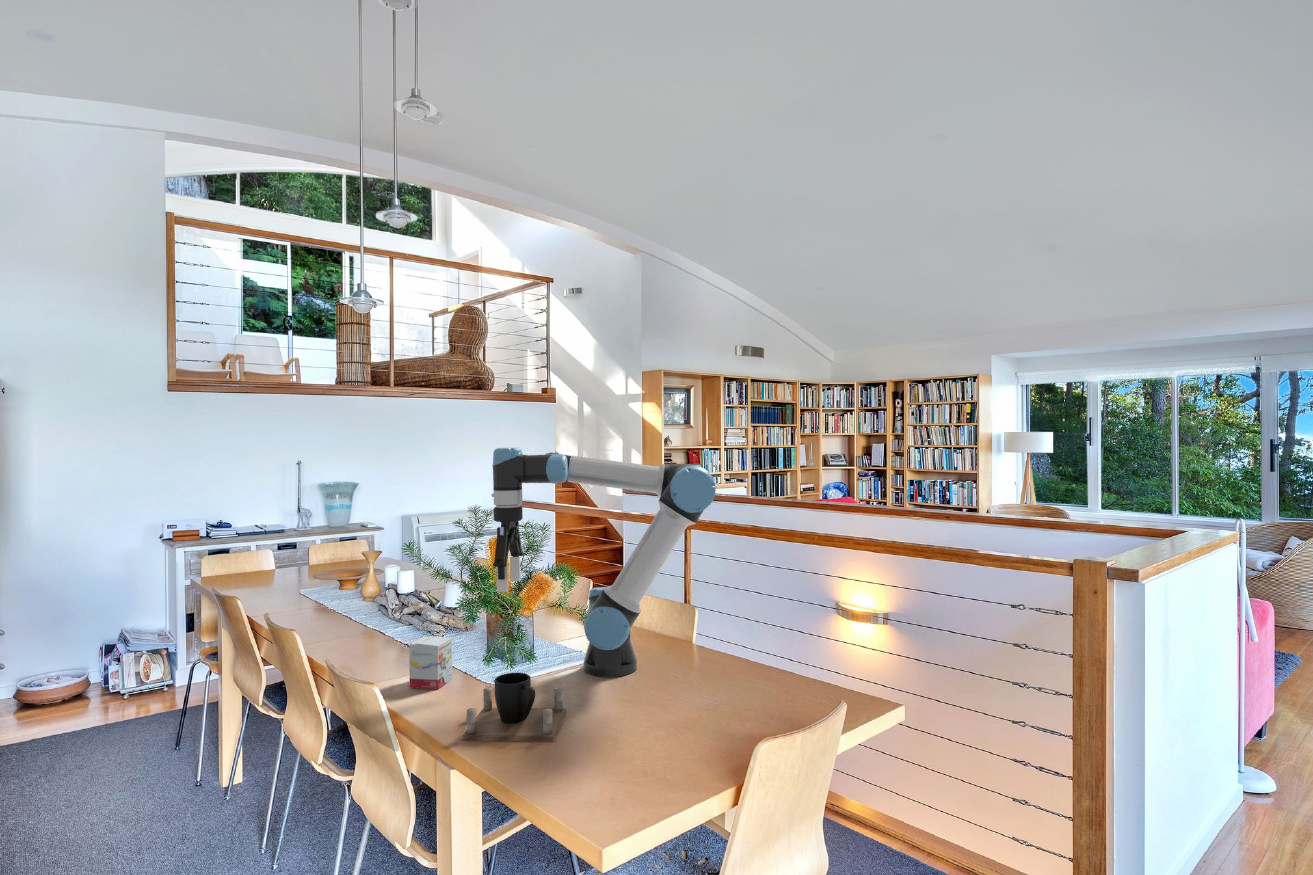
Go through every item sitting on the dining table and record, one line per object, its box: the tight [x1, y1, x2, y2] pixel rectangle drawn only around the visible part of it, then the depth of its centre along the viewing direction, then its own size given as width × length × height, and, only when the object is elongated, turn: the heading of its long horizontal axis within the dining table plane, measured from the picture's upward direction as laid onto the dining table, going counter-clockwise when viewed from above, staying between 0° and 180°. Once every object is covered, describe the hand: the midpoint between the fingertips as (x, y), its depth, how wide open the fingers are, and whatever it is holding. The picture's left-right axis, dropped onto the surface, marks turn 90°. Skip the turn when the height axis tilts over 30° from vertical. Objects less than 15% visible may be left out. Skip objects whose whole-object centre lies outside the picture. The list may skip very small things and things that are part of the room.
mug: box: [493, 672, 536, 724], centre depth 169 cm, size 8×12×10 cm
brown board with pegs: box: [462, 687, 567, 742], centre depth 169 cm, size 20×16×6 cm
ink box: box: [408, 635, 453, 690], centre depth 198 cm, size 9×9×12 cm
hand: (509, 586), depth 195 cm, fingers open, 13 cm apart
